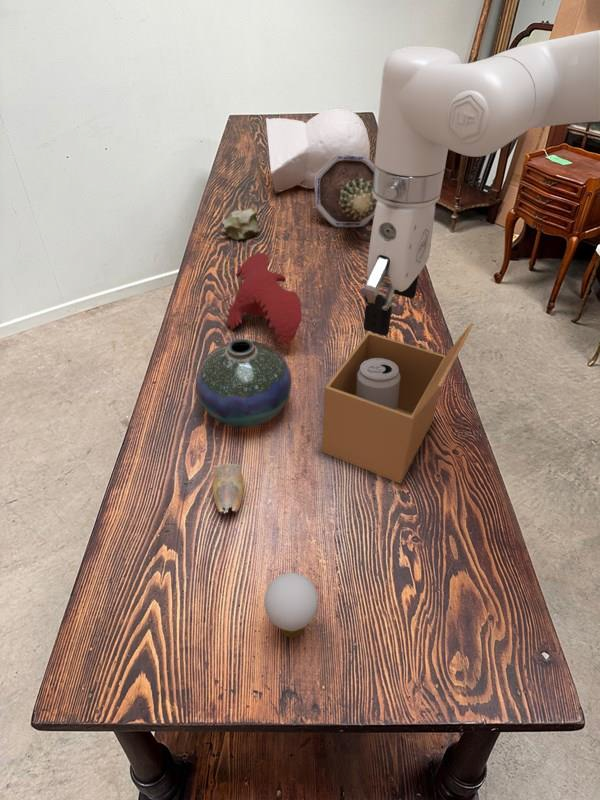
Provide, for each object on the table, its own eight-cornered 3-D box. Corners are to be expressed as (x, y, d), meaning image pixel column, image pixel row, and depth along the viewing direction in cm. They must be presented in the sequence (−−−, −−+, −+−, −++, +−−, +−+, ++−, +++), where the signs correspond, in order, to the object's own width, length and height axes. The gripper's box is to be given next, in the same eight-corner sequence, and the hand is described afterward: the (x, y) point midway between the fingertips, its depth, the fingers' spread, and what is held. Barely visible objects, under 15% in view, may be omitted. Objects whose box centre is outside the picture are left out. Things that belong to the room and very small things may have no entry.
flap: (448, 352, 79) (450, 353, 79) (413, 414, 70) (416, 416, 70) (471, 322, 74) (474, 324, 74) (437, 385, 65) (440, 386, 65)
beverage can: (397, 443, 83) (404, 379, 76) (355, 443, 84) (359, 380, 76) (391, 417, 89) (398, 355, 81) (352, 418, 89) (355, 356, 81)
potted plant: (311, 149, 143) (323, 160, 117) (377, 151, 144) (405, 162, 118) (308, 218, 151) (319, 242, 125) (371, 219, 153) (395, 243, 126)
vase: (184, 403, 92) (171, 340, 83) (258, 368, 99) (254, 306, 90) (232, 457, 83) (223, 393, 74) (310, 415, 90) (311, 352, 81)
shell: (254, 515, 75) (240, 507, 72) (226, 525, 76) (210, 518, 73) (244, 464, 79) (229, 454, 76) (217, 475, 80) (202, 465, 77)
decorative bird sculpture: (276, 380, 103) (326, 320, 98) (239, 363, 97) (291, 298, 92) (231, 305, 122) (271, 252, 117) (198, 287, 116) (240, 230, 111)
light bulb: (292, 596, 66) (291, 552, 60) (327, 629, 63) (330, 587, 57) (256, 629, 63) (251, 587, 57) (291, 666, 60) (290, 626, 54)
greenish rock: (263, 233, 142) (266, 206, 135) (249, 251, 136) (251, 224, 130) (231, 221, 143) (232, 194, 136) (215, 240, 137) (216, 212, 131)
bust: (343, 165, 174) (375, 95, 153) (356, 216, 164) (391, 148, 144) (253, 150, 164) (274, 73, 143) (261, 202, 154) (285, 128, 134)
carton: (433, 420, 89) (448, 356, 80) (400, 483, 79) (413, 419, 70) (360, 395, 93) (367, 331, 84) (321, 452, 84) (324, 387, 75)
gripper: (412, 218, 52) (392, 357, 64) (463, 162, 63) (438, 289, 75) (342, 203, 55) (336, 339, 67) (403, 152, 66) (388, 276, 78)
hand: (390, 312), depth 71 cm, fingers open, 9 cm apart
